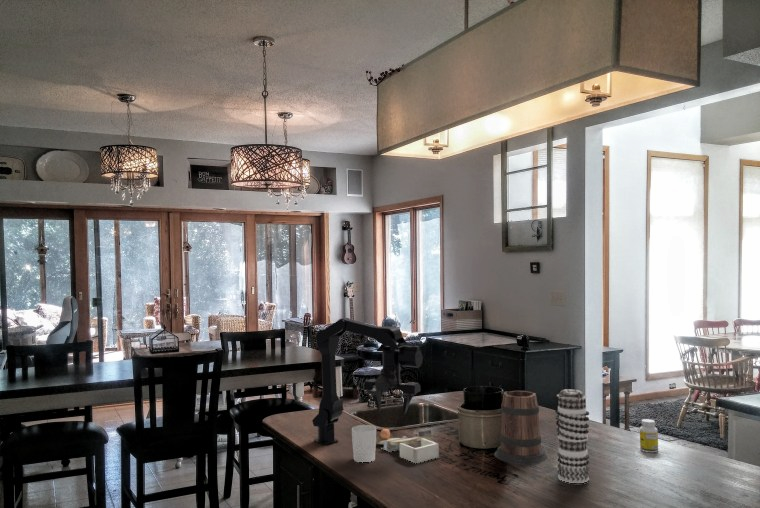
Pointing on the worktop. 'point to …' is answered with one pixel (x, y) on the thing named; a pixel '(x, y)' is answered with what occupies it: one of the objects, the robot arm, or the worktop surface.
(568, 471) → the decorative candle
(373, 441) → the white cup
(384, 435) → the ball
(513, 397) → the tankard
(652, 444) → the supplement bottle
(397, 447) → the fulcrum
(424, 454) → the tray
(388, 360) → the robot arm
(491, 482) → the worktop surface
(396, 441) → the lever
